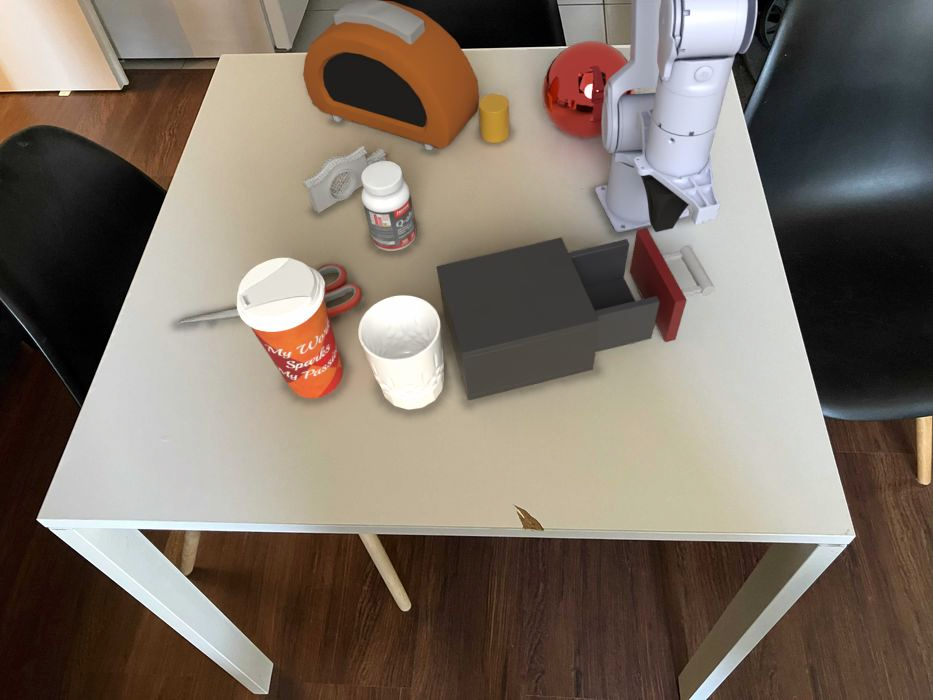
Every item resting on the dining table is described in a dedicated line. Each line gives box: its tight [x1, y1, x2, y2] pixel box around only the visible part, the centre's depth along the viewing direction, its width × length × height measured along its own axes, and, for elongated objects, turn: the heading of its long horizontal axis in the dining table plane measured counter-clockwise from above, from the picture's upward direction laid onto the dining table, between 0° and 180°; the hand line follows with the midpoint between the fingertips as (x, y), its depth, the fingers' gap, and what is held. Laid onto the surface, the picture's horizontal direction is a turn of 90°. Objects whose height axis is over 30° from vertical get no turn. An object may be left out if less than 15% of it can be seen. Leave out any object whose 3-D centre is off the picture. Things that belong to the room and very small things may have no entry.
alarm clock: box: [302, 0, 480, 152], centre depth 96 cm, size 23×9×17 cm, turn 61°
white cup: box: [357, 294, 445, 410], centre depth 73 cm, size 8×8×10 cm
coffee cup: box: [236, 257, 343, 399], centre depth 72 cm, size 8×8×15 cm
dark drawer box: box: [436, 237, 599, 401], centre depth 75 cm, size 14×12×9 cm
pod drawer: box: [568, 227, 716, 353], centre depth 76 cm, size 17×10×7 cm, turn 104°
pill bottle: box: [361, 160, 417, 252], centre depth 85 cm, size 6×6×10 cm
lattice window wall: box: [302, 145, 387, 214], centre depth 93 cm, size 12×2×6 cm, turn 132°
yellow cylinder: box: [478, 93, 511, 144], centre depth 97 cm, size 4×4×5 cm
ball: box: [541, 40, 636, 140], centre depth 94 cm, size 12×12×12 cm
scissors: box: [178, 263, 363, 324], centre depth 83 cm, size 8×21×2 cm, turn 112°
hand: (661, 225), depth 75 cm, fingers closed
